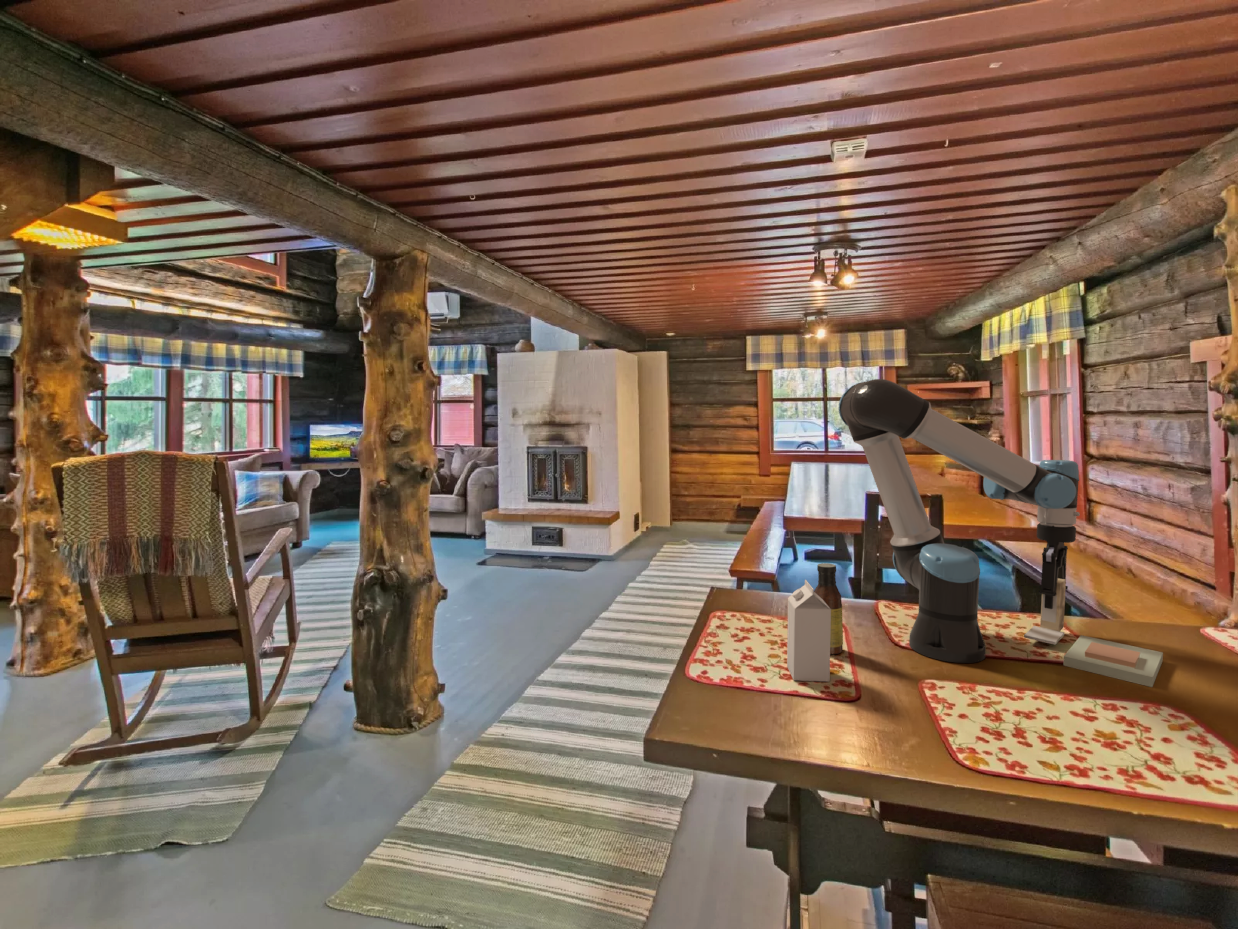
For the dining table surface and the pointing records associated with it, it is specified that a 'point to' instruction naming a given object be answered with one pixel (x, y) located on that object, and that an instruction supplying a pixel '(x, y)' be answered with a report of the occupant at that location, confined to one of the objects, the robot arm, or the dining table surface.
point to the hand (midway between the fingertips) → (1052, 617)
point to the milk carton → (808, 636)
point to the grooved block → (1140, 675)
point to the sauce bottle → (831, 603)
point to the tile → (1112, 655)
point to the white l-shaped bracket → (1051, 630)
